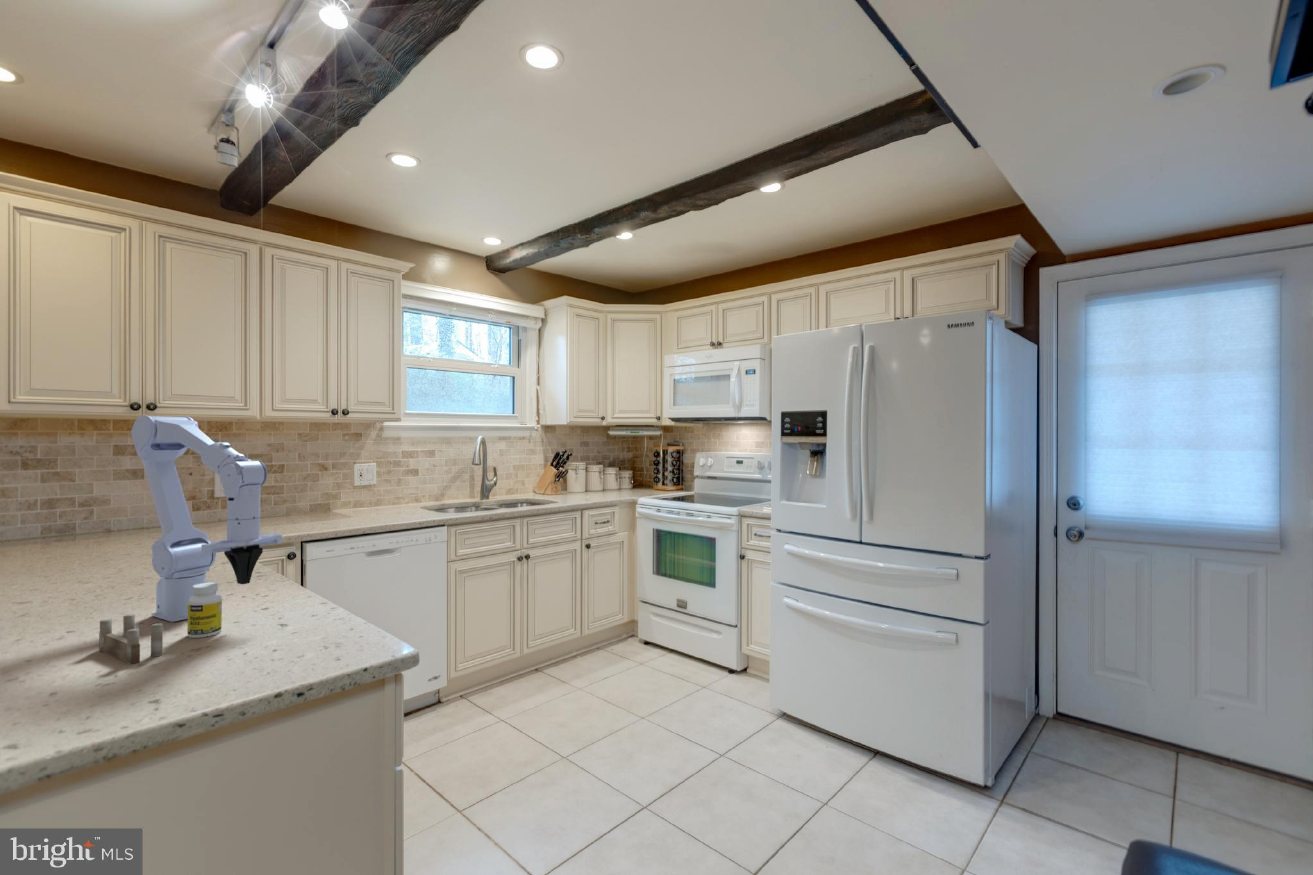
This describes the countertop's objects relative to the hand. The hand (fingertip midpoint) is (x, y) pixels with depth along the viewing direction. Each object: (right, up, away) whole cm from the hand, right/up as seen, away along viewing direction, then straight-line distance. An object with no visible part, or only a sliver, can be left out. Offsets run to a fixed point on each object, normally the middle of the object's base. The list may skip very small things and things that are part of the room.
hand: (243, 583), depth 123 cm
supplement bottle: (-3, -9, -6) cm, 11 cm away
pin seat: (-9, -9, -16) cm, 21 cm away
